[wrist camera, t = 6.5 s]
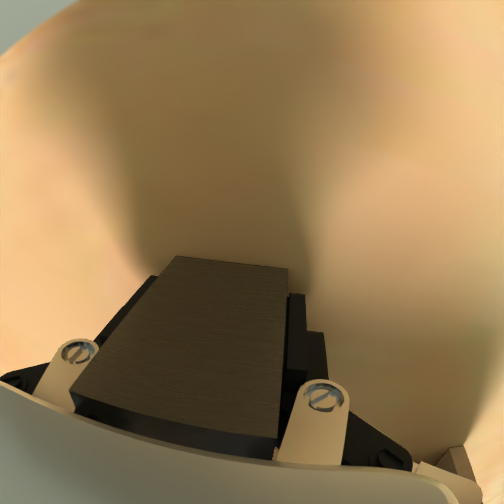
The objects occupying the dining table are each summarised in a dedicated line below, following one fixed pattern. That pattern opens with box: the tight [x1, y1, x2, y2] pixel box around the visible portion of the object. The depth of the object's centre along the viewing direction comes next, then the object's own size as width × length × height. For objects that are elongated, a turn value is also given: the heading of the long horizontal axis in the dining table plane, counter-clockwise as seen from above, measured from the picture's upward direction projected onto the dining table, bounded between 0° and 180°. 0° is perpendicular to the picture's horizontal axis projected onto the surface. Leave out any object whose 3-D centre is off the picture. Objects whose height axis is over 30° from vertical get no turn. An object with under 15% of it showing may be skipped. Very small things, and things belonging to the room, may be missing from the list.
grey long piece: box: [68, 256, 288, 461], centre depth 11 cm, size 16×6×7 cm, turn 176°
